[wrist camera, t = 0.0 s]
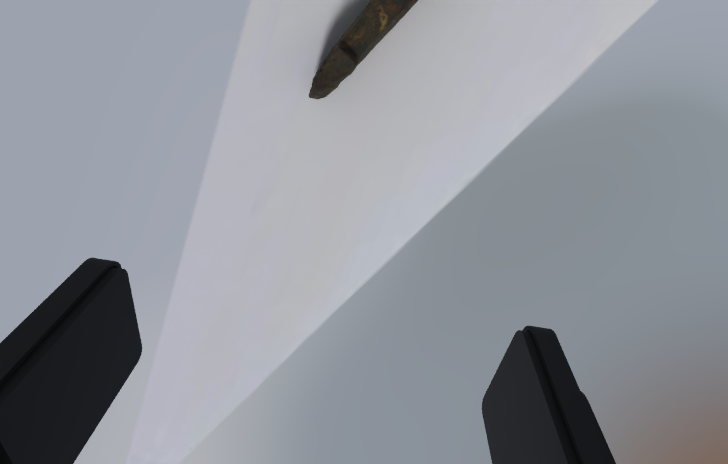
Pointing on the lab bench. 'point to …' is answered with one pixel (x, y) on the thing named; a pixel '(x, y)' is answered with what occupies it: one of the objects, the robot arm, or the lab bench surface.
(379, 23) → the hand tool
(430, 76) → the lab bench surface
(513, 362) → the robot arm
